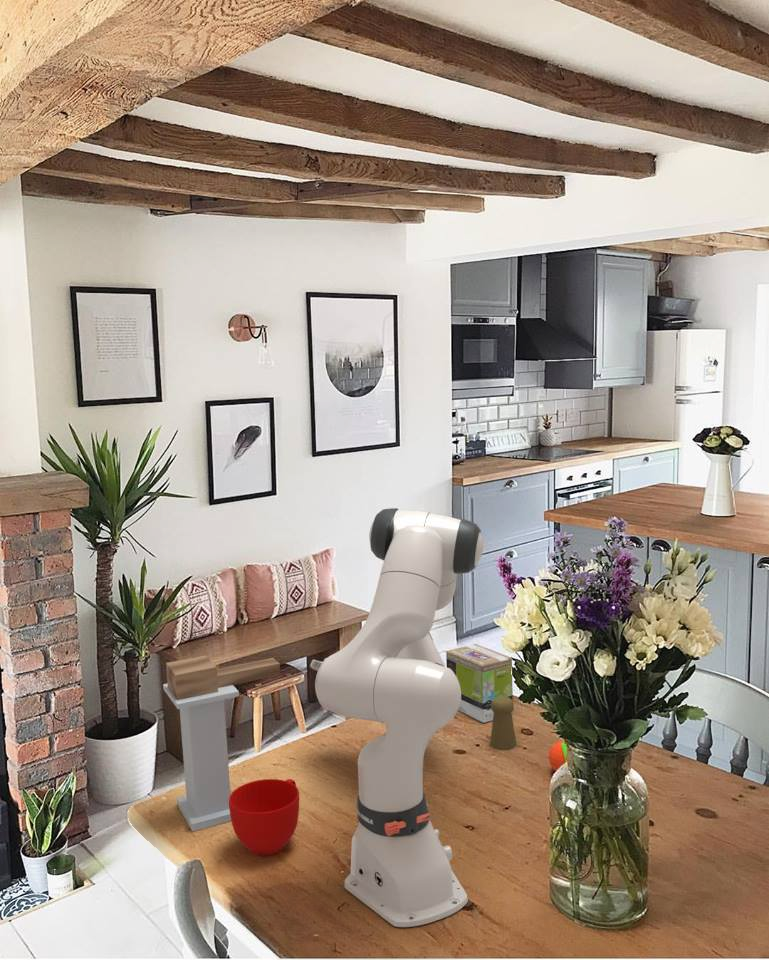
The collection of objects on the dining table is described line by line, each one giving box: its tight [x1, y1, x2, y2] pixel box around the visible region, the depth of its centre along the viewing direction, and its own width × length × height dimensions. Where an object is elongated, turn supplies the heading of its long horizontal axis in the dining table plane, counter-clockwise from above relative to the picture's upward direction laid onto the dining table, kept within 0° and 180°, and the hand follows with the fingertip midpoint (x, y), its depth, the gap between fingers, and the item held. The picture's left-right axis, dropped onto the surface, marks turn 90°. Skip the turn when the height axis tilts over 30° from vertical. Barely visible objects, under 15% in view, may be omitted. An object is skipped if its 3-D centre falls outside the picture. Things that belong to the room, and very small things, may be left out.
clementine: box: [548, 740, 567, 772], centre depth 189 cm, size 8×7×7 cm
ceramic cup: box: [229, 778, 300, 856], centre depth 168 cm, size 13×17×10 cm
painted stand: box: [162, 683, 240, 832], centre depth 178 cm, size 12×12×26 cm
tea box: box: [445, 643, 514, 723], centre depth 224 cm, size 15×10×15 cm, turn 32°
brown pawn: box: [489, 696, 517, 751], centre depth 204 cm, size 6×6×11 cm
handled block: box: [165, 655, 281, 700], centre depth 178 cm, size 8×22×5 cm, turn 117°
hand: (320, 670), depth 190 cm, fingers open, 8 cm apart
